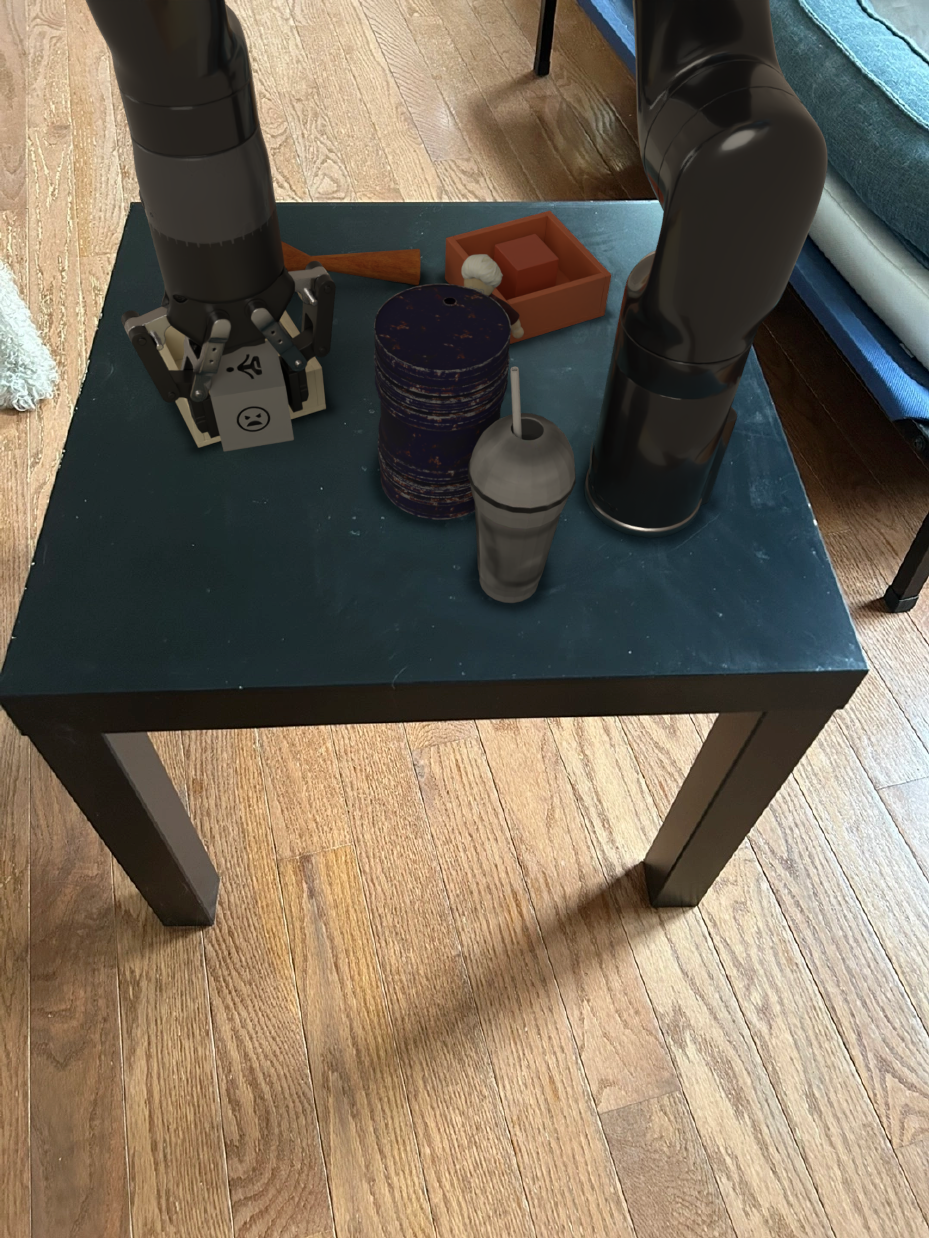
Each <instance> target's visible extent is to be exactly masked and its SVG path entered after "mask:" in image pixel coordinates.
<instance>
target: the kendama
mask: <svg viewBox="0 0 929 1238" xmlns="http://www.w3.org/2000/svg"><path fill="white" fill-rule="evenodd" d="M281 243H282V250H283V257H284V265H285V267H286V269H287V270H288V272H291V271H300V270H305V268H306V266H307V264H308V263H310V262H312V261H318V262H320V263H321V264H322V266H323V267H324V268H325V270H326V271H327V272H332V273H337V274H342V275H344V274H345V275H349V276H356V277H363V278H367V279H368V278H369V279H375V280H381V281H388V282H392V283H393V282H394V283H399V284H406V285H411V286H412V285H413V286H420V280H421V250H420V248H411V249H397V250H396V249H395V250H381V251H380V250H379V251H367V252H365V251H364V252H349V253H337V254H323V255H322V254H321V255H310V254H307V253H306V252H304V251H301V250H300V249H298V248H296V247H294V246H292V245H290V244H288V243H286V242H285V241H283V240H281Z"/></svg>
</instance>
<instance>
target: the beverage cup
mask: <svg viewBox="0 0 929 1238" xmlns="http://www.w3.org/2000/svg"><path fill="white" fill-rule="evenodd" d="M509 369H510V389H511V411H512V413H511V414H508V415H505V416H504V417H500V419H499V420H497V421H495V422H494V423H493V424H492V425H491V426H489V427H488V428H487V429H486V430H485V431H484V432H483V433H482V435H481V436H480V438H479V440H478V442H477V444H476V446H475V448H474V450H473V453H472V457H471V459H470V461H469V464H468V478H469V481H470V485H471V490H472V495H473V498H474V501H475V511H474V516H475V517H474V519H475V532H476V533H475V537H476V539H475V540H476V555H477V556H476V557H477V570H478V575H479V584H480V586H481V589H482V590H483V591H484V593H485V594H486V595H487V596H489V597H490V598H491V599H493V600H495V601H498V602H500V603H501V602H502V603H507V604H508V603H509V604H515V603H519V602H523V601H525V600H527V599H529V598H531V597H532V595H533V594H535V592H536V591H537V588H538V586H539V582H540V580H541V578H542V576H543V573H544V571H545V566H546V564H547V560H548V557H549V554H550V550H551V548H552V543H553V540H554V537H555V535H556V531H557V527H558V524H559V521H560V517H561V514H562V511H563V510H564V508H565V505H566V504H567V502H568V499H569V497H570V496H571V494H572V493H573V490H574V488H575V486H576V483H577V481H576V480H577V476H576V472H577V471H576V465H575V455H574V454H575V453H574V451H573V448H572V446H571V443H570V441H569V439H568V437H567V435H566V434H565V432H563V431H562V429H561V428H560V427H558V425H557V424H555V423H554V422H553V421H551V420H550V419H548V418H546V417H544V416H542V415H540V414H539V415H538V414H535V413H529V412H522V411H521V410H522V409H521V391H520V389H521V388H520V369H519V367H518V366H511V368H509Z"/></svg>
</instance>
